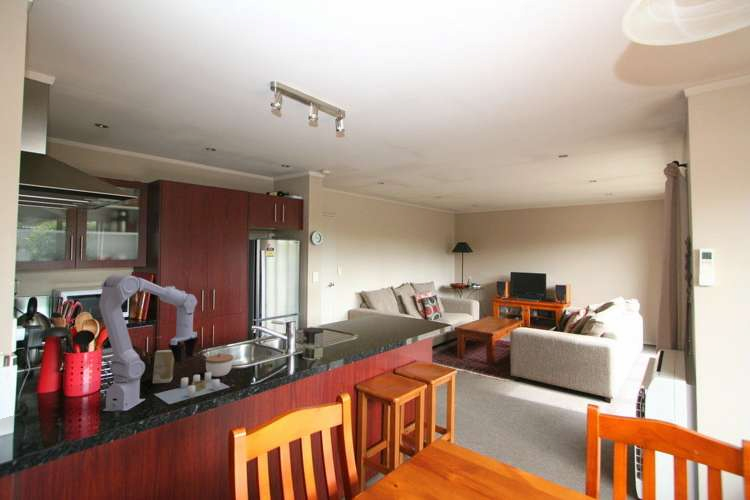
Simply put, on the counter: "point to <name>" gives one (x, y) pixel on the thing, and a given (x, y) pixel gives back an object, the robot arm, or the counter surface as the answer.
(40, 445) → the counter surface
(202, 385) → the nut
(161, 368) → the skincare box
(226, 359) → the lidded jar
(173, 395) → the board
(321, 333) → the coffee can
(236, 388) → the counter surface
